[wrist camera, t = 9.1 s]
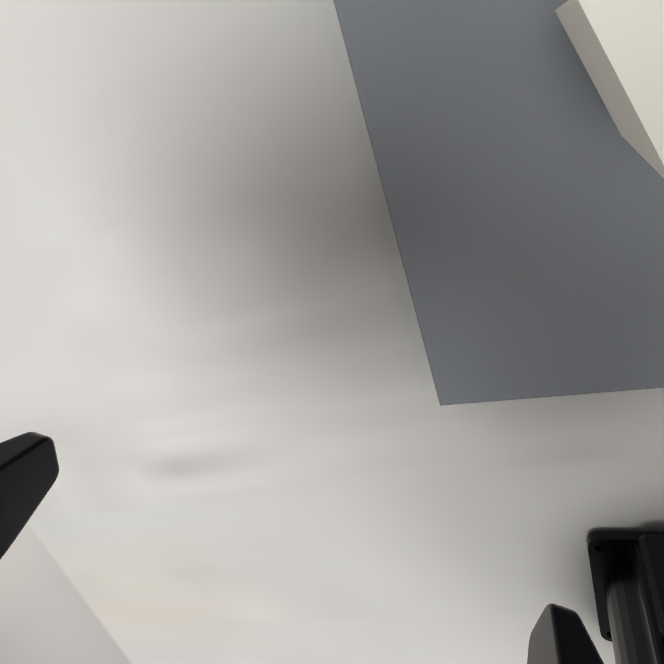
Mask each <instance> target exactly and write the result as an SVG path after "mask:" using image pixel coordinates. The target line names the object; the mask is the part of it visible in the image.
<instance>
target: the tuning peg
mask: <svg viewBox="0 0 664 664" xmlns="http://www.w3.org/2000/svg"><path fill="white" fill-rule="evenodd" d="M555 12H556V14H557V16H558V18H559V20H560V21H561V23H562V25H563V27H564V29H565V31H566V33H567V35H568V36H569V38H570V40H571V42H572V44H573V46H574V48H575V50H576V51H577V53H578V55H579V57H580V59H581V61H582V63H583V65H584V66H585V68H586V70H587V72H588V74H589V76H590V78H591V80H592V81H593V83H594V85H595V87H596V89H597V91H598V93H599V95H600V96H601V98H602V100H603V102H604V104H605V106H606V108H607V110H608V112H609V113H610V115H611V117H612V119H613V121H614V123H615V125H616V127H617V128H618V130H619V132H620V134H621V136H622V137H623V138H624V139H625V140H626V141H627V142H628V143H629V144H630V145H631V146H632V147H633V148H634V149H635V150H636V151H637V152H638V153H639V154H640V155H641V156H642V157H643V158H644V159H645V160H646V161H647V162H648V163H649V164H650V165H651V166H652V167H653V168H654V169H655V170H656V171H657V172H658V173H659V174H660V175H661V176H662V177H663V178H664V0H568V1H567V2H565V3H564V4H563V5H561V6H560V7H559V8H557V9H556V10H555Z"/></svg>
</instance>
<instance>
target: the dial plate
mask: <svg viewBox="0 0 664 664" xmlns="http://www.w3.org/2000/svg"><path fill="white" fill-rule="evenodd" d="M567 1H568V0H334V3H335V7H336V11H337V15H338V19H339V22H340V26H341V30H342V34H343V38H344V41H345V45H346V49H347V53H348V57H349V60H350V64H351V68H352V72H353V76H354V79H355V83H356V87H357V91H358V95H359V98H360V102H361V106H362V110H363V114H364V117H365V121H366V125H367V129H368V133H369V136H370V140H371V144H372V148H373V152H374V155H375V159H376V163H377V167H378V171H379V174H380V178H381V182H382V186H383V190H384V193H385V197H386V201H387V205H388V209H389V212H390V216H391V220H392V224H393V228H394V231H395V235H396V239H397V243H398V247H399V250H400V254H401V258H402V262H403V266H404V269H405V273H406V277H407V281H408V285H409V288H410V292H411V296H412V300H413V304H414V307H415V311H416V315H417V319H418V323H419V326H420V330H421V334H422V338H423V342H424V345H425V349H426V353H427V357H428V361H429V364H430V368H431V372H432V376H433V380H434V383H435V387H436V391H437V395H438V399H439V402H440V405H451V404H464V403H476V402H489V401H501V400H513V399H526V398H538V397H551V396H563V395H575V394H588V393H600V392H613V391H625V390H637V389H650V388H662V387H664V178H663V177H662V176H661V175H660V174H659V173H658V172H657V171H656V170H655V169H654V168H653V167H652V166H651V165H650V164H649V163H648V162H647V161H646V160H645V159H644V158H643V157H642V156H641V155H640V154H639V153H638V152H637V151H636V150H635V149H634V148H633V147H632V146H631V145H630V144H629V143H628V142H627V141H626V140H625V139H624V138H623V137H622V136H621V134H620V132H619V130H618V128H617V127H616V125H615V123H614V121H613V119H612V117H611V115H610V113H609V112H608V110H607V108H606V106H605V104H604V102H603V100H602V98H601V96H600V95H599V93H598V91H597V89H596V87H595V85H594V83H593V81H592V80H591V78H590V76H589V74H588V72H587V70H586V68H585V66H584V65H583V63H582V61H581V59H580V57H579V55H578V53H577V51H576V50H575V48H574V46H573V44H572V42H571V40H570V38H569V36H568V35H567V33H566V31H565V29H564V27H563V25H562V23H561V21H560V20H559V18H558V16H557V14H556V12H555V10H556V9H557V8H559V7H560V6H561V5H563V4H564V3H565V2H567Z"/></svg>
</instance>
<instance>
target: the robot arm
mask: <svg viewBox="0 0 664 664" xmlns="http://www.w3.org/2000/svg"><path fill="white" fill-rule="evenodd" d="M58 473H59V465H58V460H57V455H56V451H55V446H54V442H53V440H52V439H51V438H50V437H48V436H45V435H42V434H39V433H36V432H28V433H25V434H22V435H19V436H17V437H14V438H12V439H9V440H7V441H4V442H2V443H0V559H1V558H2V556H3V555H4V554H5V552H6V551H7V550H8V549H9V547H10V546H11V544H12V543H13V542H14V540H15V539H16V537H17V536H18V534H19V533H20V532H21V530H22V529H23V527H24V526H25V524H26V523H27V521H28V520H29V519H30V517H31V516H32V514H33V513H34V511H35V510H36V508H37V507H38V505H39V504H40V503H41V501H42V500H43V498H44V497H45V495H46V494H47V492H48V491H49V489H50V488H51V487H52V485H53V484H54V482H55V480H56V478H57V476H58ZM599 543H602V544H599ZM587 546H588V552H589V559H590V566H591V573H592V579H593V586H594V593H595V599H596V606H597V613H598V619H599V626H600V633H601V636H602V637H603V638H604V639H606V640H608V641H612V642H613V649H614V655H615V661H616V664H664V532H620V531H597V532H592V533H590V534H589V535H588V536H587ZM527 664H604V663H603V661H602V659H601V657H600V655H599V653H598V651H597V649H596V647H595V645H594V643H593V641H592V640H591V638H590V636H589V634H588V632H587V630H586V628H585V626H584V624H583V622H582V620H581V618H580V617H579V615H578V614H577V613H576V612H575V611H573V610H571V609H568V608H565V607H562V606H559V605H556V604H552V603H551V604H548V605H547V606H546V607H545V609H544V611H543V613H542V614H541V616H540V618H539V620H538V621H537V623H536V625H535V627H534V628H533V630H532V633H531V636H530V640H529V648H528V661H527Z"/></svg>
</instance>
